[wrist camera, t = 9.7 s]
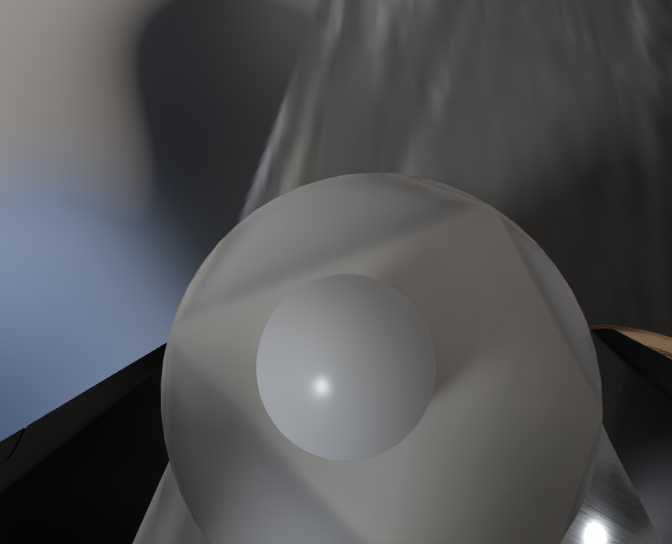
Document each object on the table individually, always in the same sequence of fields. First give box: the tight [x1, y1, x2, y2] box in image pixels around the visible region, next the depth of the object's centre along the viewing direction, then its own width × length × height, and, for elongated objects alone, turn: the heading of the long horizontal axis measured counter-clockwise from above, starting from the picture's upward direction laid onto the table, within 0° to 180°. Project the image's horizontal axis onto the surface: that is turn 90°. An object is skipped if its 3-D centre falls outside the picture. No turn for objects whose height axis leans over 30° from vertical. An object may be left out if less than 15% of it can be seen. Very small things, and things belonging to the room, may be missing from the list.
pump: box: [161, 173, 603, 544], centre depth 11 cm, size 6×6×14 cm
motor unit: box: [560, 323, 672, 544], centre depth 14 cm, size 10×16×6 cm, turn 63°
